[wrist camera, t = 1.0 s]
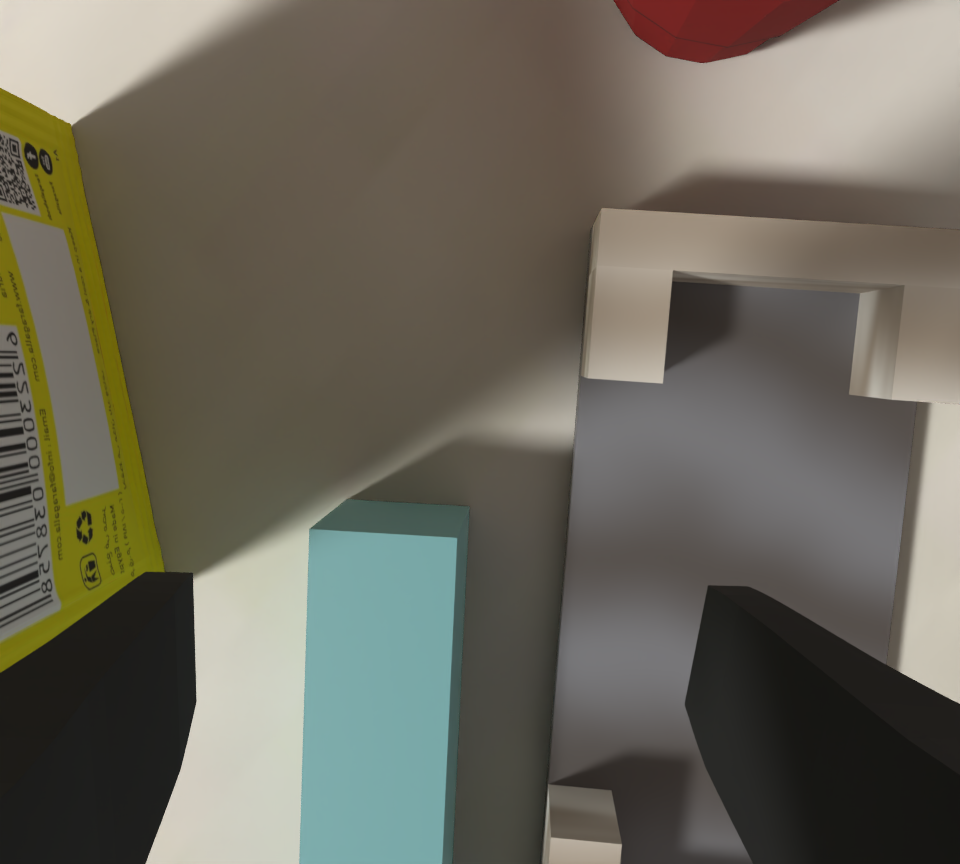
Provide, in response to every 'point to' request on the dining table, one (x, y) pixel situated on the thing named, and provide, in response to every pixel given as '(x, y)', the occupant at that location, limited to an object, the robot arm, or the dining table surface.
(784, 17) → the plastic cup
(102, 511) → the food package
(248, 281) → the dining table surface
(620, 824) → the cradle
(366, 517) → the slat
